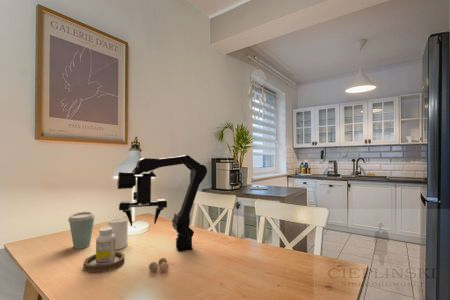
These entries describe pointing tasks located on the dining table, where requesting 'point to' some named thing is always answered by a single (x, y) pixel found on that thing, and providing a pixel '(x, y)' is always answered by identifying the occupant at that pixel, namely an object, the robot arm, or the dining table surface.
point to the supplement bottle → (105, 246)
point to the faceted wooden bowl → (94, 268)
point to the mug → (119, 231)
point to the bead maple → (153, 266)
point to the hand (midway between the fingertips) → (143, 225)
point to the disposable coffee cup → (81, 228)
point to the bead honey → (162, 261)
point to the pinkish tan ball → (163, 267)
